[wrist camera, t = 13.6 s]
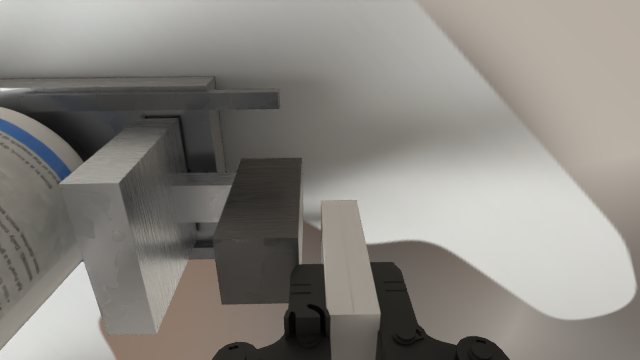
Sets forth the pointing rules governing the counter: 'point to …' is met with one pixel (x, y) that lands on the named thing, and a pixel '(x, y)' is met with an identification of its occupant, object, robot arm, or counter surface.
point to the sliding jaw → (180, 224)
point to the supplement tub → (32, 218)
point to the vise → (137, 116)
